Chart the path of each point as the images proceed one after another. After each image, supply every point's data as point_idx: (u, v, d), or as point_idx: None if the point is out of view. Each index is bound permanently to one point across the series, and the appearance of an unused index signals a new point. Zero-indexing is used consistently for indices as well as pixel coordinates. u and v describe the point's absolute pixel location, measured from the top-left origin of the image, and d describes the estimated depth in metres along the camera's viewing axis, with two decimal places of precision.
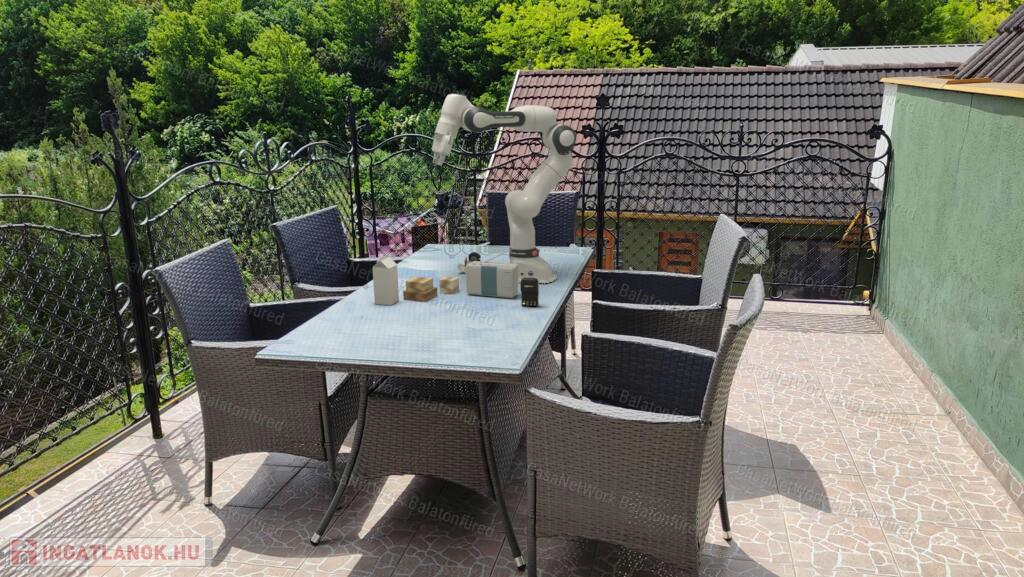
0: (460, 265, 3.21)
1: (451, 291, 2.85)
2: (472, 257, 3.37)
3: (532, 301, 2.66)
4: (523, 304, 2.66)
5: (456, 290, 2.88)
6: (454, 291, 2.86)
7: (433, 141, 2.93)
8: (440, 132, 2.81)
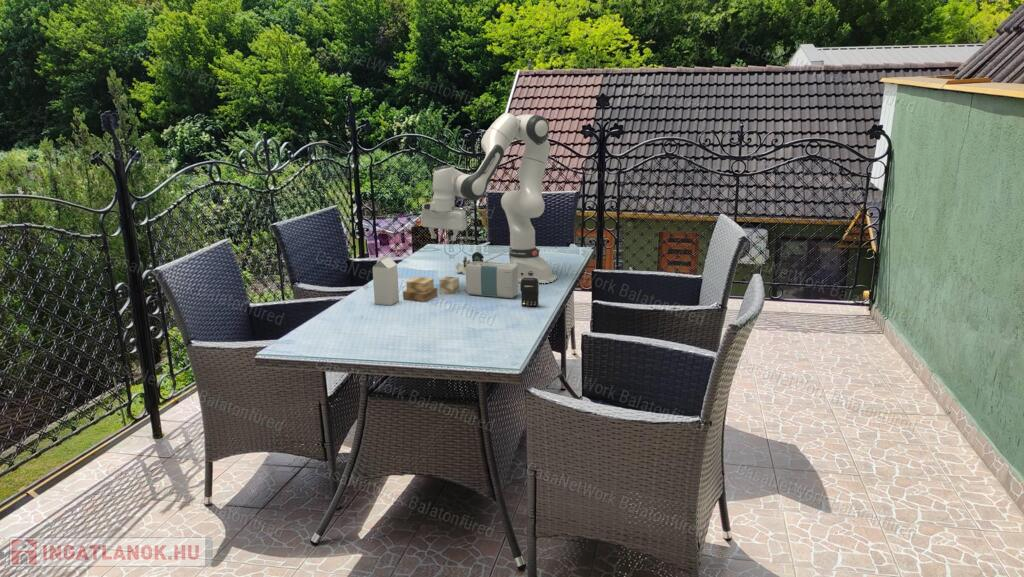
0: (459, 265, 3.22)
1: (451, 291, 2.85)
2: (475, 257, 3.37)
3: (532, 301, 2.66)
4: (523, 304, 2.66)
5: (456, 290, 2.88)
6: (454, 291, 2.86)
7: (422, 217, 2.83)
8: (446, 210, 2.76)
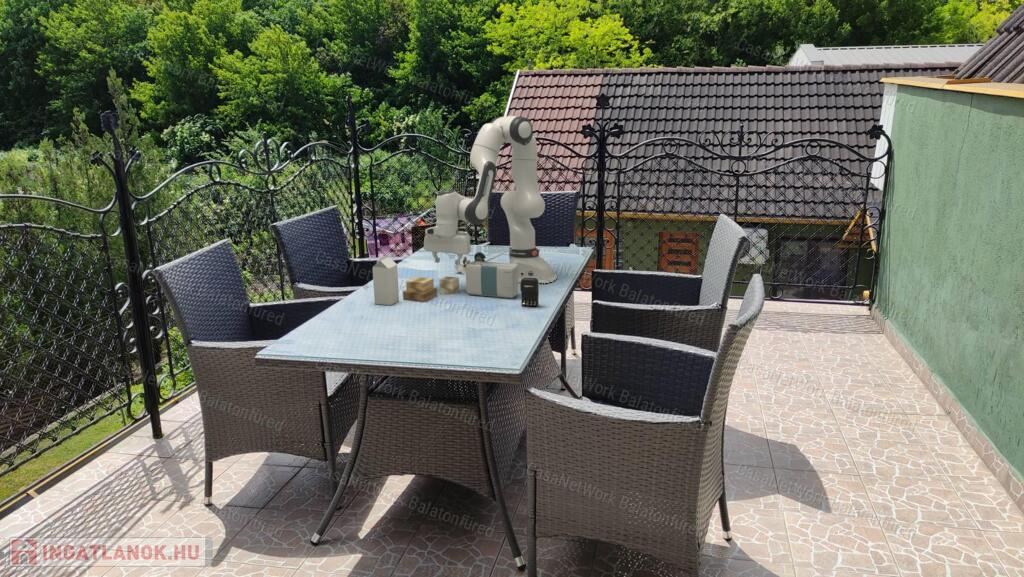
0: (458, 265, 3.22)
1: (451, 291, 2.85)
2: (477, 258, 3.37)
3: (532, 301, 2.66)
4: (523, 304, 2.66)
5: (456, 290, 2.88)
6: (454, 291, 2.86)
7: (425, 242, 2.84)
8: (450, 234, 2.78)
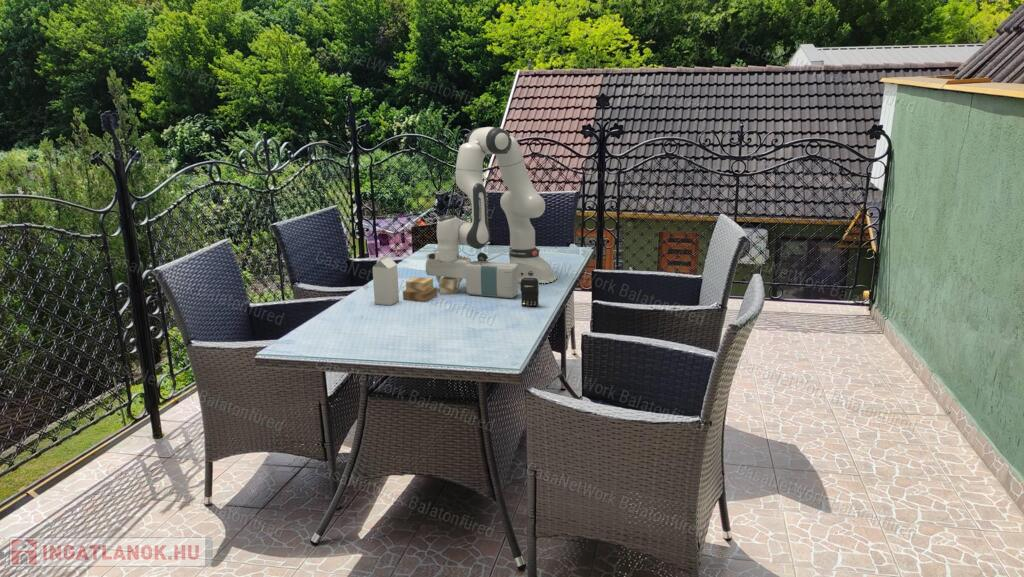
0: None
1: (451, 291, 2.85)
2: (480, 258, 3.36)
3: (532, 301, 2.66)
4: (523, 304, 2.66)
5: (456, 290, 2.88)
6: (454, 291, 2.86)
7: (427, 266, 2.87)
8: (451, 259, 2.81)
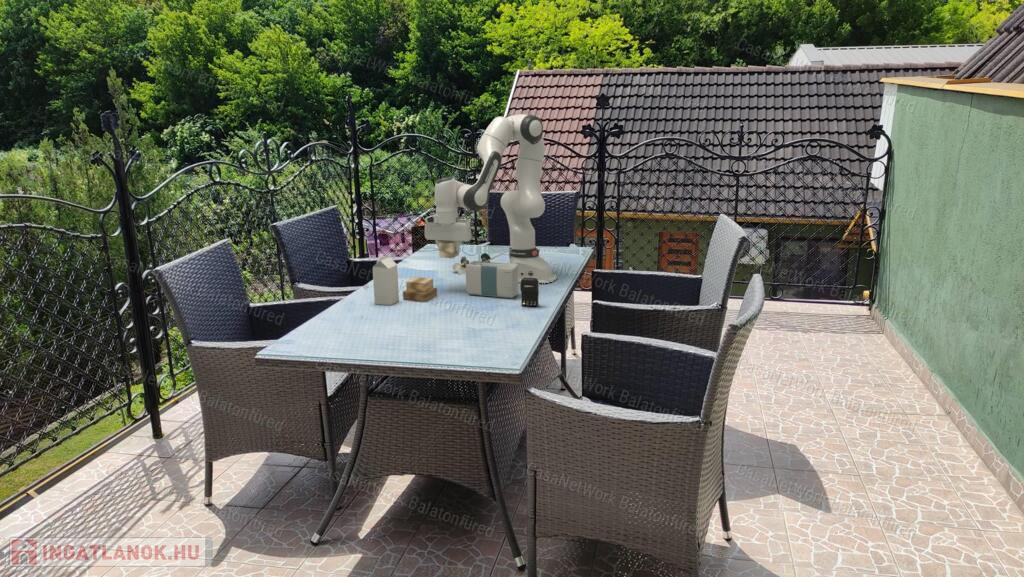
0: (457, 264, 3.23)
1: (451, 254, 2.81)
2: (483, 258, 3.35)
3: (532, 301, 2.66)
4: (523, 304, 2.66)
5: (456, 253, 2.84)
6: (454, 255, 2.83)
7: (425, 230, 2.83)
8: (450, 222, 2.77)
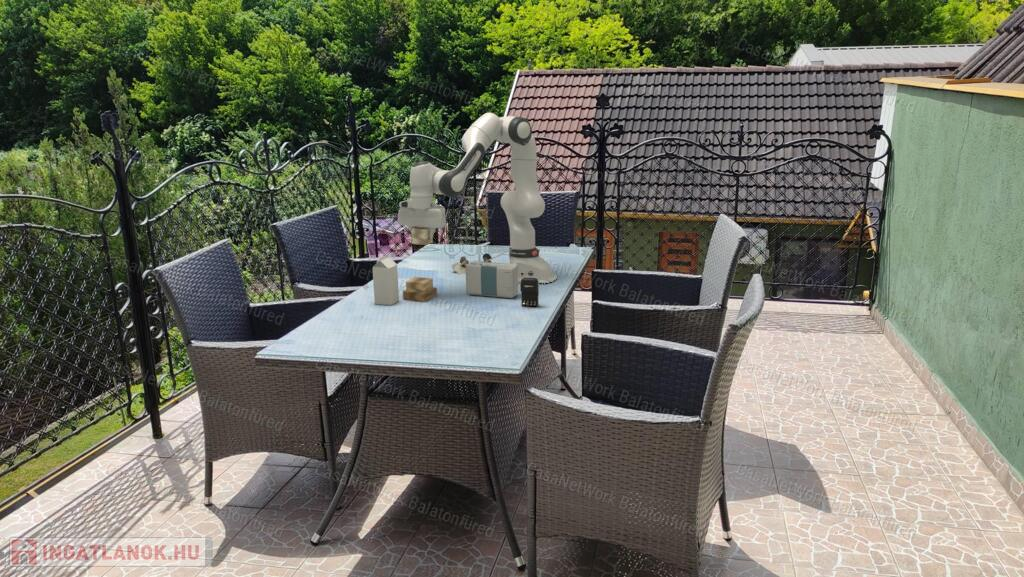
0: (456, 264, 3.23)
1: (424, 241, 2.72)
2: (485, 258, 3.35)
3: (532, 301, 2.66)
4: (523, 304, 2.66)
5: (429, 241, 2.75)
6: (427, 242, 2.74)
7: (399, 215, 2.75)
8: (424, 207, 2.68)
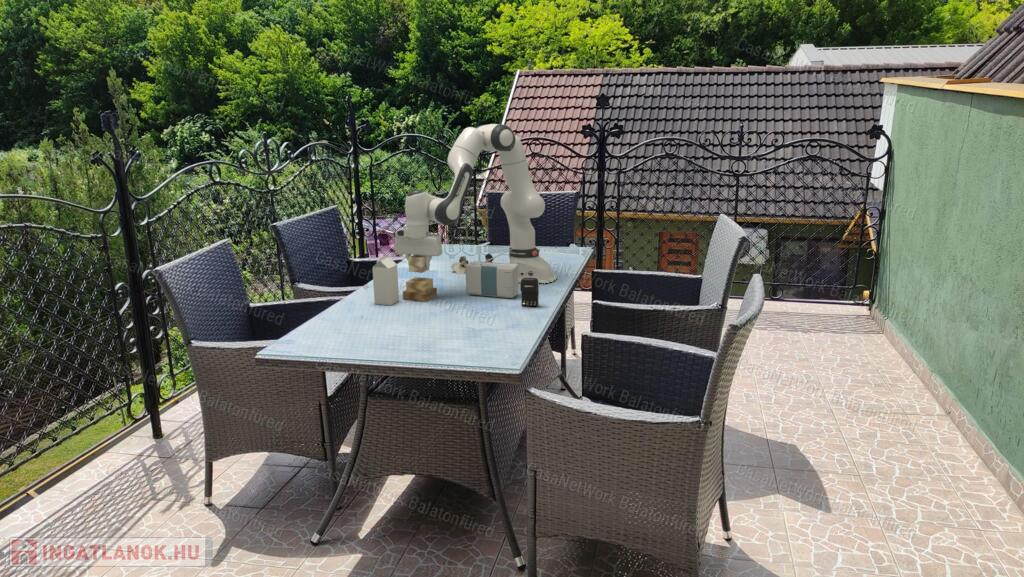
0: (456, 264, 3.24)
1: (420, 269, 2.74)
2: (487, 259, 3.34)
3: (532, 301, 2.66)
4: (523, 304, 2.66)
5: (426, 268, 2.77)
6: (424, 269, 2.75)
7: (395, 243, 2.76)
8: (420, 236, 2.70)
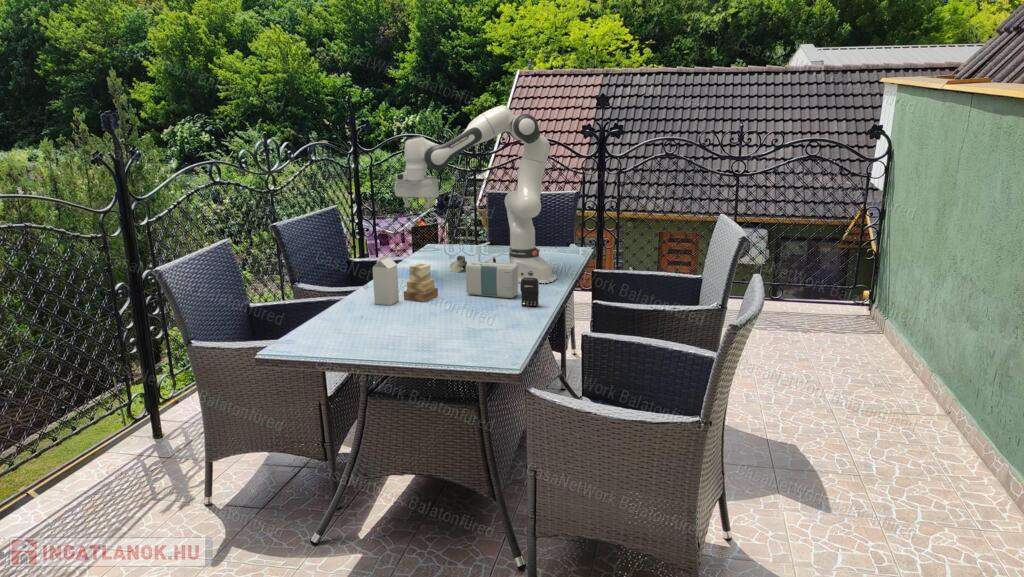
0: (456, 262, 3.27)
1: (421, 278, 2.74)
2: None
3: (532, 301, 2.66)
4: (523, 304, 2.66)
5: (427, 278, 2.77)
6: (425, 279, 2.76)
7: (395, 187, 2.96)
8: (419, 178, 2.90)
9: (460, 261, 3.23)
